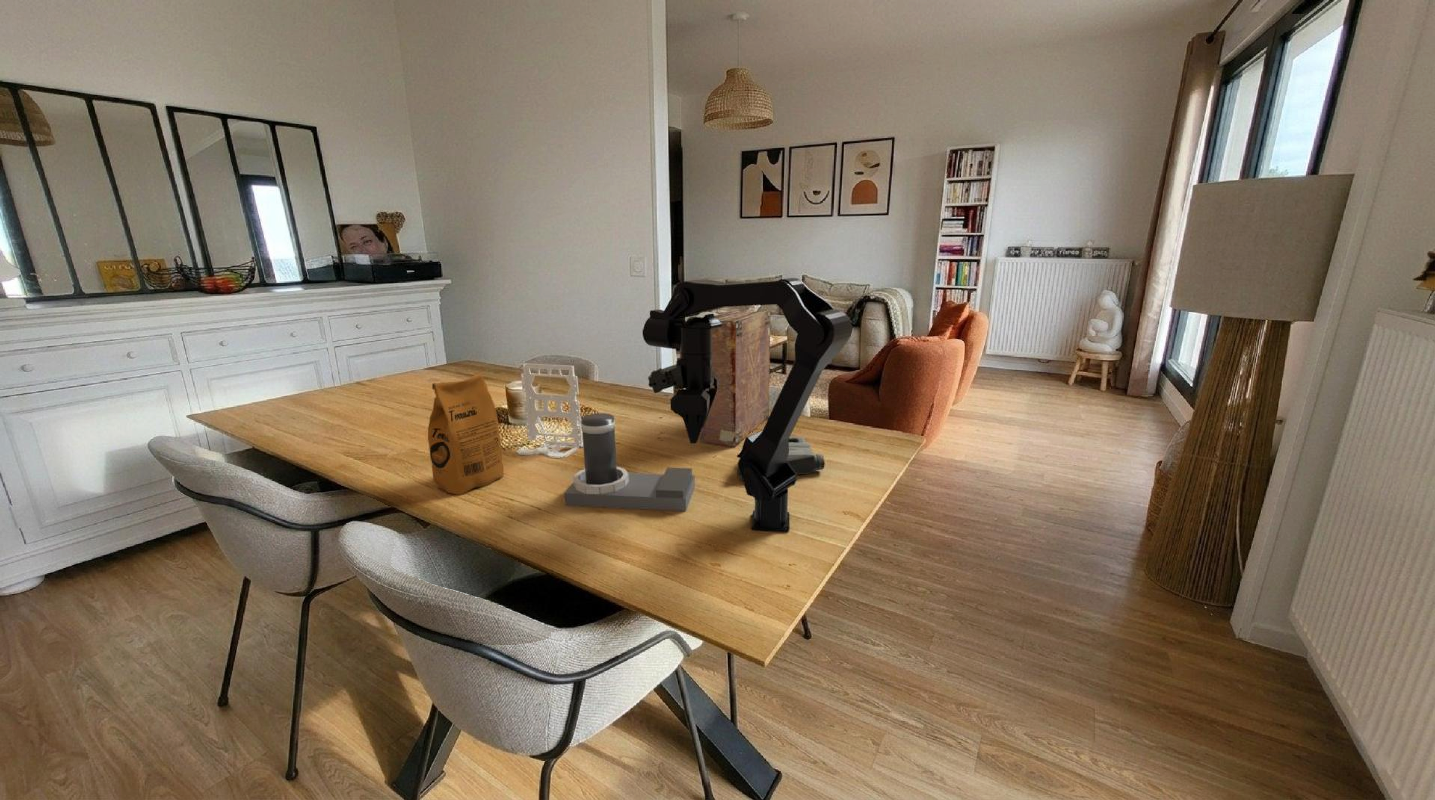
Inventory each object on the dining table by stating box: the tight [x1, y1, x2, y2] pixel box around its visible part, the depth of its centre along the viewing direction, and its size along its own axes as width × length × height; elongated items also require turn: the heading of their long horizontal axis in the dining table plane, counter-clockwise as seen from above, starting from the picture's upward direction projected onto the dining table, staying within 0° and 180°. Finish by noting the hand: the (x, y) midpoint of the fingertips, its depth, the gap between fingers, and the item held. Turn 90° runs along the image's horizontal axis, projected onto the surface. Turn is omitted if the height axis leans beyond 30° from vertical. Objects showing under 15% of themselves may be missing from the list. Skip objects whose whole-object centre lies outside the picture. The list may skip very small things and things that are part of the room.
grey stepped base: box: [563, 466, 696, 512], centre depth 110 cm, size 11×23×4 cm, turn 83°
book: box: [700, 308, 772, 448], centre depth 144 cm, size 25×9×30 cm, turn 157°
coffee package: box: [427, 372, 505, 496], centre depth 114 cm, size 10×12×22 cm
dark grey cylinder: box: [580, 412, 618, 485], centre depth 108 cm, size 6×6×13 cm
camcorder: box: [736, 435, 826, 479], centre depth 124 cm, size 16×20×5 cm
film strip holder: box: [515, 363, 583, 459], centre depth 134 cm, size 14×14×20 cm
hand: (697, 434), depth 105 cm, fingers open, 9 cm apart
